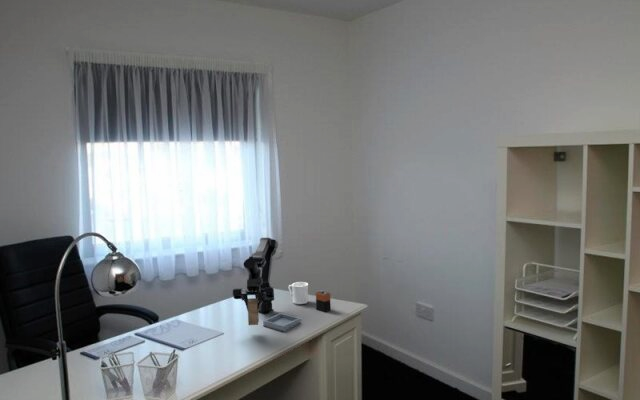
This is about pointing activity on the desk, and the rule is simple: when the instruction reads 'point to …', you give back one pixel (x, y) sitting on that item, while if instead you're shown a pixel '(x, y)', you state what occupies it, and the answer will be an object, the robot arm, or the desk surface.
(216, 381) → the desk surface
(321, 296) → the battery
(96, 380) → the desk surface
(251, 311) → the walnut block
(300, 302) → the mug
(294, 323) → the tray
